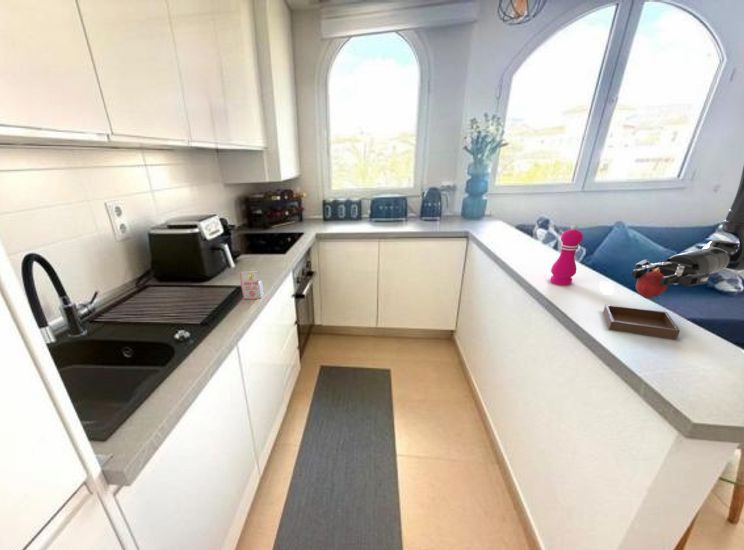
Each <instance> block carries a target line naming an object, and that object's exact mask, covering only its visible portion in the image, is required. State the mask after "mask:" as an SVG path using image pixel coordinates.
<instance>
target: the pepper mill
mask: <svg viewBox="0 0 744 550" xmlns="http://www.w3.org/2000/svg"><path fill="white" fill-rule="evenodd" d="M583 239H584V234H583V232H582V231H580V230H579V228H578V225H577V224H573V225H571V226H570V229H567V230H565V231H563V233H562V234H561V236H560V241H561V244H560V253H559V257H558V258H557V259H556V260H555V262H554V263H553V264H552V266H551V268H550V273H551V274H552V275H551V276H550V279H549V282H550V283H551V284H554V285H557V286H570V285H571V284H572V282H573V277H574V276H575V275H576V274H577V264H576V260H575V256H576V252H577V251H578V250H579V247H580V245H579V244H580V243H582V242H583Z"/></svg>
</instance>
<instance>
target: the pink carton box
mask: <svg viewBox="0 0 744 550" xmlns="http://www.w3.org/2000/svg"><path fill="white" fill-rule="evenodd" d="M239 274H240V275H239V277H240V287H241V288H240V289H241V293H242V299H243V301H244V300H262V299H263V297H264V296H265V294H264V288H263V281H262V280H263V279H262V278H261V277H262V276H261V275H260V271H258V270H257V271H255V270H253V271H240V272H239Z"/></svg>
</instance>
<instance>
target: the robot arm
mask: <svg viewBox="0 0 744 550" xmlns="http://www.w3.org/2000/svg"><path fill="white" fill-rule="evenodd" d="M721 230H722V232H724V233H726V234H729V235H731V236H734V237H736V238H737V239H738V241H739V242H735V241H729V240H721V239H716V240H710V241H709V242H707V243H705V245H704V246H703V247H702V248H701V249H695V250H690V251H686V252H682V253H678V254H674V255H672V256H670V257H668V258H666V260H664V261H663V262H655V263H651V260H650V259H643V260H641V261H639V262H638V263H635V266H634V269H633V270H632V273H631V275H630V276H631V279H633V280H638V279H639V278H640V277H641V276H642V275H644V274H646V273H649V272H652V271H653V270H654V269H656V268H658V269H660V273H661V274H663V275H664V276H665V277H663V278H662V279H661V281H660V284H659V285H660V286H666V285H668V286H672V285H673V286H676V285H677V286H678V285H679V284H681V286H682V287H694V286H700V285H706V284H707V282H708V280H709V278H710V275H712V274H716V273H719V272H720V271H721V272H722V271H723V270H725V269H726V270H730V271H734V272H735V271H736V272H742V271H744V164H743V166H742V170H741V174H740V179H739V184H738V186H737V191H736V193H735V196H734V199H733V201H732V203H731V205H730V208H729V210H728V212H727V215H726V217H725V219H724V220H723V222H722V226H721Z"/></svg>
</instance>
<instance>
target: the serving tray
mask: <svg viewBox="0 0 744 550" xmlns="http://www.w3.org/2000/svg"><path fill="white" fill-rule="evenodd" d="M602 315H603V318H604V320H605V323H606V325H607V328H608V331H615V332H621V333H629V334H634V335H635V334H636V335H640V336H641V335H642V336H649V337H655V338H662V339H669V340H677V338H678V337H679V334H680V332H681V330H680V329H679V327H678V325H677V324H676V323H675V321H674V320H673V318H672V317H671V316H670V314H669V313H668V312H667V311H661V310H653V309H645V308H637V307H627V306H619V305H611V304H605V305H604V308H603V311H602Z"/></svg>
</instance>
